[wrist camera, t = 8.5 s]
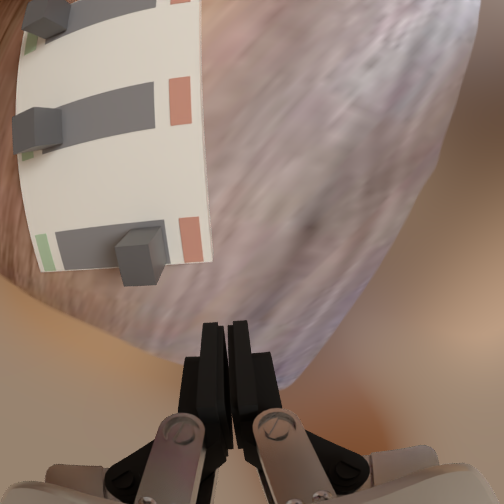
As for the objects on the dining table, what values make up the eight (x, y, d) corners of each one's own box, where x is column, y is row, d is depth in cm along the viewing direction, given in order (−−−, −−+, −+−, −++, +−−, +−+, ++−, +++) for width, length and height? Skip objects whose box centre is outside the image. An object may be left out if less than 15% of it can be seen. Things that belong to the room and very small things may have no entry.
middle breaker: (61, 109, 16) (34, 106, 12) (63, 143, 17) (35, 146, 13) (40, 117, 16) (12, 117, 12) (41, 149, 17) (13, 154, 13)
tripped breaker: (161, 225, 21) (148, 244, 17) (166, 261, 22) (156, 285, 18) (132, 228, 21) (114, 247, 17) (138, 263, 22) (123, 286, 18)
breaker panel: (201, -20, 14) (200, -31, 13) (213, 252, 25) (212, 262, 23) (35, 31, 13) (24, 27, 11) (50, 264, 23) (40, 272, 21)
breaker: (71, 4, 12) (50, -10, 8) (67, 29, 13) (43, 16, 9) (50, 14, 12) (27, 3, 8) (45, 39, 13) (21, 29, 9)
